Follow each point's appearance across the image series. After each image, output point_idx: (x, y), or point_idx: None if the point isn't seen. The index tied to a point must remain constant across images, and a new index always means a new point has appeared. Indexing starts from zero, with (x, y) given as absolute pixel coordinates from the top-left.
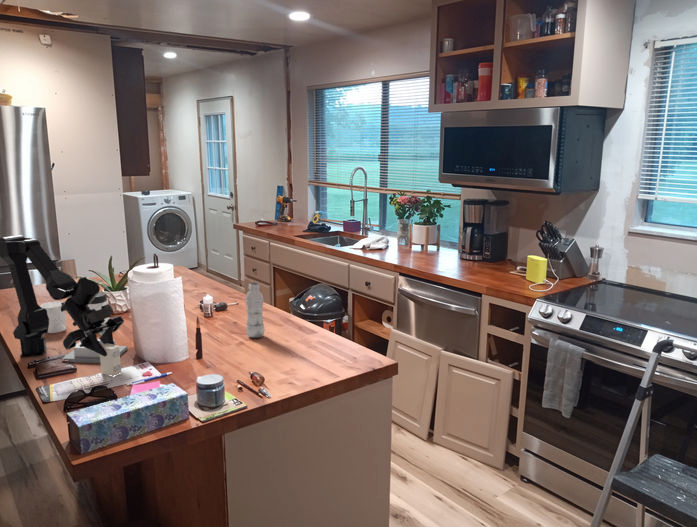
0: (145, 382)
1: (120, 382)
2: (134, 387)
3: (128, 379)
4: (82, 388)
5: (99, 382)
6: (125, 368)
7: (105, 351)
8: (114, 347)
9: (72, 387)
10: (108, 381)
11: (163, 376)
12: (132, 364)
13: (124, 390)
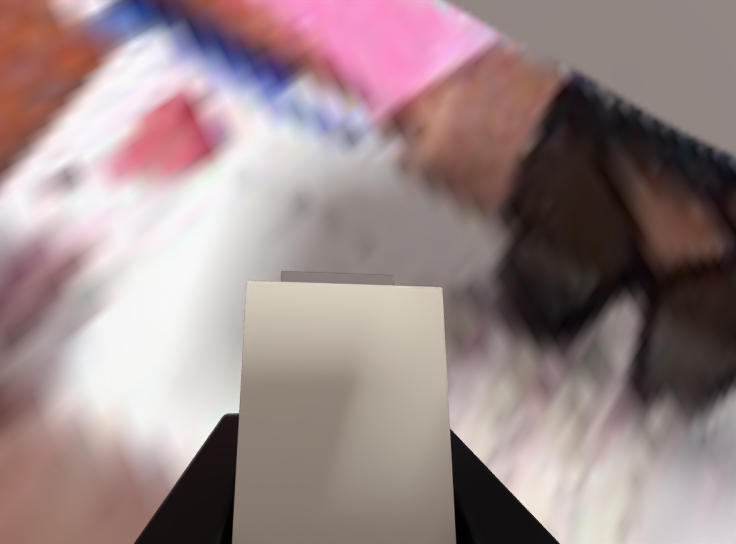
0: (312, 60)
1: (400, 223)
2: (411, 78)
3: (329, 206)
4: (618, 408)
5: (482, 377)
6: (142, 414)
7: None
8: (357, 292)
9: (652, 502)
10: None
11: (164, 5)
12: (17, 431)
13: (477, 108)
